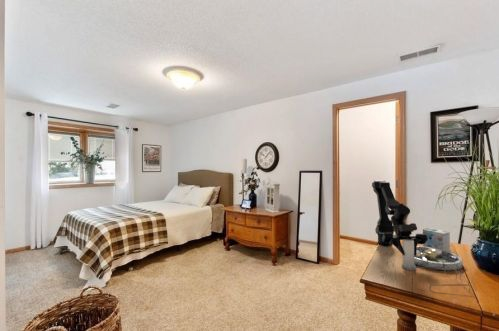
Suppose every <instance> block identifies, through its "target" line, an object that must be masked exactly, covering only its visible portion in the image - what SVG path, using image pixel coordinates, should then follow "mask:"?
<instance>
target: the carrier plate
mask: <svg viewBox="0 0 499 331" xmlns="http://www.w3.org/2000/svg"><path fill="white" fill-rule="evenodd" d="M414 265H415V266H416V267H420V266H421V267H444V266H445V271H444V268H427V269H429V270H434V271H442V272H458V271H460V270H462V269H463V267H464V266H463V259H462V257H460V256H459V255H458V254H456V253H453V252H451V251H446V250H441V249H437V248H433V247H424V246H423V245H417V251H416V256H415V255H414ZM448 265H449V266H448ZM450 266H451V267H452V268H451V267H450ZM453 268H454V269H456V270H454V269H453Z"/></svg>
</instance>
